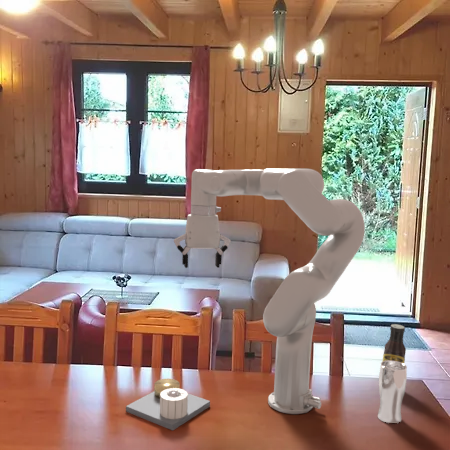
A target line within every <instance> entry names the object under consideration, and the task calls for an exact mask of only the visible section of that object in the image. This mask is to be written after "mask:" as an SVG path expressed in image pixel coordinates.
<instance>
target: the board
mask: <svg viewBox="0 0 450 450" xmlns="http://www.w3.org/2000/svg"><path fill="white" fill-rule="evenodd" d="M210 407H211V401H210V400H208V399H205V398H203V397H200V396H197V395H193V394H191V393H188V407H187V415H186V416H184V417H181V418H179V419H168V418H165V417H163V416H161V414H160V399H158V398H156V397H155V395H154V391H151V392H150V393H148V394H146V395H144V396H142V397H140V398H138V399H136V400H134V401H133V402H131V403H129V404H128V405H126V406H125V412H126V413H129V414H131V415H134V416H136V417H137V418H142V419H144V420H146V421H148V422H150V423H153V424H155V425H158V426H161V427H163V428H165V429H168V430H171V431H174V430H176V429H177V428H179V427H180V426H182V425H184V424H185V423H187V422H188V421H190V420H191V419H193V418H194V417H196V416H197V415H199V414H201V413H202V412H203V411H205V410H206V409H208V408H210Z"/></svg>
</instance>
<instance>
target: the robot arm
mask: <svg viewBox="0 0 450 450" xmlns="http://www.w3.org/2000/svg"><path fill="white" fill-rule="evenodd" d="M190 187H191V188H190V189H191V191H190V192H191V196H190V214H188V215H187V218H186V224H185V233H183V234H181V235H180V236H178V237H175V238H174V239H173V242H174V245H175V246H176V249H177V250H178V251H179V252H180V253H181V254H182V259H181V260H182V261H181V262H182V265H184V268H185V269H187V268H189V254H188V253H189V251H190V250H191V249H197V250H199V249H201V250H202V249H203V250H206V249H207V250H210V249H211V250H213V249H215V251H216V253H215V263H214V264H215V267H216V268H220V265H222V255H223V254H224V252H226V251H227V250H228V248H229V246H230V245H231V242H232V240H231V239H230V238H228V237H226V236H224V235H222V234H220V221H219V216H218V214H217V213H219V212H221V211H222V207H220V206H217V197H228V196H229V197H230V196H259V197H260V196H261V197H263V198H264V199H265V200H272V201H273V200H276V201H284V202H285V204H286V205H288V207H289V209H291V211H293V213H295V215H296V216H298V218H299V219H300V220H301V221H302V223H304V224H305V225H306V226H307V228H309V229H310V230H311V231H312V232H314V233H315V234H317V235H319V236H328V237H327V238H326V239H325V240H324V242H323V243H322V244H321V245H320V246H319V248H318V250H316V253H315V254H314V256H313V257H312V258H311V260H309V262H308V263H307V264H306V265H304V266H301V267H299V268H297V269H294V270H293V271H291V272H290V273H289V274H287V275H286V277H284V279H283V280H282V282H281V284H280V285H279V286H278V288H277V289H276V291H275V293H274V294H273V295H272V297H271V298H270V300H269V301H268V303H267V304H266V307H265V308H264V311H263V315H262V319H263V320H262V321H263V325H264V328H265V329H266V331H267V332H268V333H269V334H270V335H272V336H274V337H276V347H275V362H274V363H275V366H274V367H275V368H274V383H273V384H274V385H273V388H274V389H273V392H271V393H270V394H269V395H268V397H267V402H268V405H269V406H270V408H272V409H274V410H276V411H278V412H280V413H283V414H289V415H299V414H306V413H308V412H309V411H311V410H312V409H313V408H315V409H319V410H320V409H321V407H322V401H321V398H320V397H318V396H314V395H313V390H312V389H311V388H310V374H311V373H310V372H311V371H310V370H311V369H310V368H311V357H312V356H311V355H312V354H311V353H312V341H313V334H314V327H315V324H316V317H317V307H316V303H317V302H319V301H320V300H323V299H324V298H326V297H327V296H328V295H329V294H330V292H331V291H332V290H333V288H334V287H335V285H336V283H337V282H338V281H339V279H340V278H341V277H342V275H343V274H344V272H345V271H346V269H347V267H348V266H349V264H350V263H351V262H352V260H353V259H354V257H355V256H356V255H357V254H358V251H359V249H360V248H361V246H362V243H363V240H364V237H365V226H366V225H365V221H364V216H363V214H362V212H361V211H360V209H359V207H358V206H357V205H356V204H355V203H354V202H352V201H350V200H348V199H345V198H343V199H342V198H340V199H339V198H338V199H330V200H329V199H328V198H327V197H326V196H325V195H324V194H323V191H324V188H325V181H324V178H323V176H322V174H321V173H320V172H319V171H317V170H315V169H312V168H280V167H279V168H270V167H269V168H268V167H267V168H264V169H219V170H218V169H217V170H214V169H204V168H203V169H201V168H198V169H197V168H196V169H194V170H193V171H192V172H191V186H190ZM183 241H184V242H185V243H184V244H185V245H184V247H183V246H181V244H180V243H181V242H183ZM220 241H223V242H224V244H223V245H222V246H220V245H221V243H220Z"/></svg>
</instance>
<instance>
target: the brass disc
mask: <svg viewBox="0 0 450 450" xmlns="http://www.w3.org/2000/svg"><path fill="white" fill-rule="evenodd" d="M153 384H154V389H153V390H154V391H153V392H154V395H155V397H156V398H158V399H160V394H161V392H162V391H164V390H165V389H170V388H172V389H173V388H179V389H181V388H180V386H181V385H180V381H178V380H176V379H174V378H161V379H158V380H156V381H155V382H154V383H153Z"/></svg>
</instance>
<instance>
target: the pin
mask: <svg viewBox="0 0 450 450" xmlns="http://www.w3.org/2000/svg"><path fill="white" fill-rule="evenodd" d="M169 397H178V391H175V390H172V391H170V392H169Z"/></svg>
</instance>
